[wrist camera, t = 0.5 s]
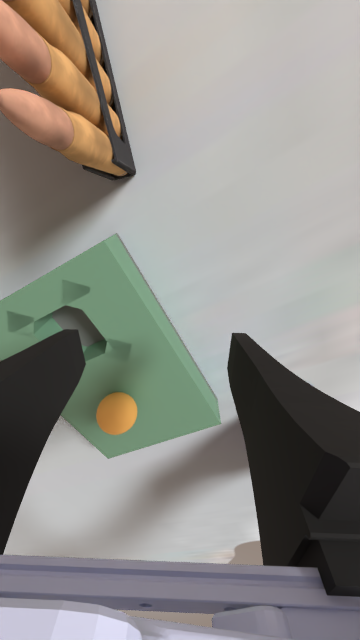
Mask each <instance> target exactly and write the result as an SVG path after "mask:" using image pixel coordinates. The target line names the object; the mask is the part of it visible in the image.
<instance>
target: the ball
mask: <svg viewBox="0 0 360 640" xmlns="http://www.w3.org/2000/svg"><path fill="white" fill-rule="evenodd" d="M136 418H137V405H136V403H135V401H134V399H133V398H132V397H131V396H130V395H128V394H126V393H122V392H115V393H112V394H109V395H108V396H106V397H105V398H104V399H103V400H102V401H101V402H100V404H99V406H98V408H97V413H96V419H97V423H98V425H99V427H100V428H101V429H102V430H103V431H104V432H106V433H108V434H111V435H119V434H122V433H124V432H126V431H128V430H129V429H130V428H131V427H132V426H133V424H134V423H135V421H136Z"/></svg>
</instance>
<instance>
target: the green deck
mask: <svg viewBox="0 0 360 640" xmlns="http://www.w3.org/2000/svg"><path fill="white" fill-rule="evenodd" d="M64 329H78V331H79V336H80V340H81V344H82V349H83V353H84V358H85V362H86V366H85V368H84V371H83V374H82V376H81V378H80V381H79V383H78V385H77V387H76V389H75V390H74V392H73V394H72V396H71V397H70V399H69V401H68V403H67V404H66V406H65V408H64V410H63V411H62V413H61V416H62V417H63V418H64V419H66V420H67V421H68V422H69V423H70V424H71V425H72V426H73V427H74V428H75V429H76V430H77V431H79V432H80V433H81V434H82V435H83V436H84V437H85V438H86V439H87V440H88V441H89V442H91V443H92V444H93V445H94V446H95V447H96V448H97V449H98V450H99V451H100V452H101V453H102V454H104V455H105V456H106V457H107V458H108V459H109V458H112V457H115V456H118V455H122V454H125V453H128V452H131V451H135V450H138V449H141V448H144V447H148V446H151V445H154V444H157V443H161V442H164V441H167V440H170V439H174V438H177V437H180V436H183V435H187V434H190V433H193V432H196V431H200V430H203V429H206V428H209V427H212V426H216V425H219V424H221V421H220V414H219V408H218V401H217V398H216V396H215V394H214V393H213V391H212V389H211V388H210V386H209V384H208V383H207V381H206V379H205V378H204V376H203V375H202V373H201V371H200V370H199V368H198V366H197V365H196V363H195V361H194V360H193V358H192V356H191V355H190V353H189V351H188V350H187V348H186V346H185V345H184V343H183V341H182V340H181V338H180V336H179V335H178V333H177V332H176V330H175V328H174V327H173V325H172V323H171V322H170V320H169V318H168V317H167V315H166V313H165V312H164V310H163V308H162V307H161V305H160V303H159V302H158V300H157V298H156V297H155V295H154V293H153V292H152V290H151V289H150V287H149V285H148V284H147V282H146V280H145V279H144V277H143V275H142V274H141V272H140V270H139V269H138V267H137V265H136V264H135V262H134V260H133V259H132V257H131V255H130V254H129V252H128V250H127V249H126V247H125V246H124V244H123V242H122V241H121V239H120V237H119V236H118V234H117V233H116V234H115V235H113V236H111V237H109V238H108V239H106V240H104V241H102V242H101V243H99V244H97V245H95V246H94V247H92V248H90V249H89V250H87V251H85V252H83V253H82V254H80V255H78V256H77V257H75V258H73V259H71V260H70V261H68V262H66V263H64V264H63V265H61V266H59V267H58V268H56V269H54V270H52V271H51V272H49V273H47V274H46V275H44V276H42V277H40V278H39V279H37V280H35V281H34V282H32V283H30V284H28V285H27V286H25V287H23V288H22V289H20V290H18V291H16V292H15V293H13V294H11V295H10V296H8V297H6V298H4V299H3V300H1V301H0V360H1V361H2V360H4V359H6V358H8V357H10V356H12V355H14V354H16V353H19V352H21V351H23V350H25V349H26V348H28V347H30V346H32V345H34V344H36V343H38V342H40V341H42V340H44V339H46V338H47V337H49V336H51V335H53V334H55V333H57V332H60V331H62V330H64ZM115 392H122V393H126V394H128V395H130V396H131V397H132V398H133V399H134V401H135V403H136V405H137V418H136V421H135V423H134V424H133V426H132V427H131V428H130V429H129V430H128V431H126V432H124V433H122V434H119V435H111V434H108V433H106V432H104V431H103V430H102V429H101V428H100V427H99V425H98V423H97V419H96V413H97V408H98V406H99V404H100V402H101V401H102V400H103V399H104V398H105V397H106V396H108V395H109V394H112V393H115Z"/></svg>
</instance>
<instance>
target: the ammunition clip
mask: <svg viewBox="0 0 360 640" xmlns="http://www.w3.org/2000/svg"><path fill="white" fill-rule="evenodd" d="M0 59H1V60H2V61H3V62H4V63H6V64H7V65H8V66H9V67H10V68H11V69H12V70H14V71H15V72H16V73H18V74H19V75H20V76H21V77H22V78H23V79H24V80H25V81H26V82H28V83H29V84H30V85H31V86H32V87H34V88H35V90H36V91H37V92H38V93H39V95H40V96H41V97H40V96H38V95H35V94H33V93H31V92H28V91H24V90H20V89H12V88H7V89H0V110H1V112H2V113H3V114H4V115H5V116H6V118H7V119H9V120H10V121H11V122H12V123H13V124H14V125H15V126H16V127H18V128H19V129H20V130H21V131H23V132H24V133H25V134H26V135H28V136H29V137H31V138H33V139H34V140H36V141H38V142H39V143H42V144H44V145H47V146H49V147H51V148H52V149H54V150H56V151H58V152H60V153H61V154H63V155H64V156H65V157H66V158H68V159H69V160H71V161H74V162H76V163H79V164H82V166H83V168H84V170H87V171H90V172H92V173H95V174H97V175H100V176H103V177H105V178H108V179H110V180H116V179H120V178H124V177H129V176H133V175H135V174H136V169H135V165H134V161H133V157H132V153H131V148H130V144H129V140H128V136H127V132H126V127H125V123H124V119H123V115H122V110H121V106H120V102H119V98H118V94H117V89H116V85H115V81H114V77H113V73H112V68H111V64H110V60H109V56H108V51H107V47H106V43H105V39H104V35H103V30H102V26H101V22H100V18H99V14H98V9H97V5H96V1H95V0H0Z"/></svg>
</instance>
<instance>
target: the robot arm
mask: <svg viewBox="0 0 360 640" xmlns="http://www.w3.org/2000/svg"><path fill="white" fill-rule="evenodd" d="M85 366H86V362H85V358H84V353H83V349H82V344H81V340H80V336H79V331H78V329H64V330H62V331H60V332H57V333H55V334H53V335H51V336H49V337H47V338H46V339H44V340H42V341H40V342H38V343H36V344H34V345H32V346H30V347H28V348H26V349H25V350H23V351H21V352H19V353H16V354H14V355H12V356H10V357H8V358H6V359H4V360H2V361H0V640H360V412H359V411H357V410H355V409H353V408H351V407H349V406H347V405H345V404H343V403H341V402H339V401H337V400H336V399H334V398H332V397H330V396H328V395H327V394H325V393H323V392H321V391H320V390H318V389H316V388H315V387H313V386H312V385H310V384H308V383H307V382H305V381H304V380H302V379H301V378H299V377H298V376H296V375H295V374H294V373H292V372H291V371H289V370H288V369H287V368H286V367H284V366H283V365H282V364H280V363H279V362H278V361H277V360H275V359H274V358H273V357H272V356H271V355H269V354H268V353H267V352H266V351H265V350H264V349H262V348H261V347H260V346H259V345H258V344H257V343H256V342H255V341H254V340H253V339H251V338H250V337H249V336H248V335H247V334H246V333H232V338H231V345H230V352H229V360H228V367H227V369H228V376H229V383H230V388H231V392H232V396H233V399H234V403H235V406H236V410H237V413H238V417H239V420H240V424H241V428H242V431H243V435H244V440H245V444H246V450H247V456H248V461H249V467H250V473H251V479H252V486H253V492H254V499H255V506H256V512H257V519H258V526H259V534H260V542H261V549H262V557H263V565H264V566H263V565H238V564H214V563H190V562H166V561H142V560H118V559H93V558H69V557H45V556H21V555H3V553H4V550H5V547H6V544H7V541H8V538H9V535H10V532H11V529H12V527H13V524H14V521H15V518H16V515H17V512H18V510H19V507H20V504H21V502H22V499H23V497H24V494H25V491H26V489H27V486H28V483H29V481H30V479H31V476H32V474H33V471H34V469H35V467H36V464H37V462H38V459H39V457H40V455H41V452H42V450H43V448H44V446H45V444H46V441H47V439H48V437H49V435H50V433H51V431H52V429H53V427H54V425H55V423H56V422H57V420H58V418H59V417H60V415H61V413H62V411H63V410H64V408H65V406H66V404H67V403H68V401H69V399H70V397H71V396H72V394H73V392H74V390H75V389H76V387H77V385H78V383H79V381H80V378H81V376H82V374H83V371H84V368H85ZM114 609H117V610H114ZM118 610H139V611H162V612H163V611H164V612H183V613H205V614H214V616H213V618H212V628H211V627H205V626H197V625H191V624H184V623H177V622H169V621H162V620H155V619H149V618H141V617H133V616H128V615H127V614H125V613H124V612H121V611H118Z"/></svg>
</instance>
